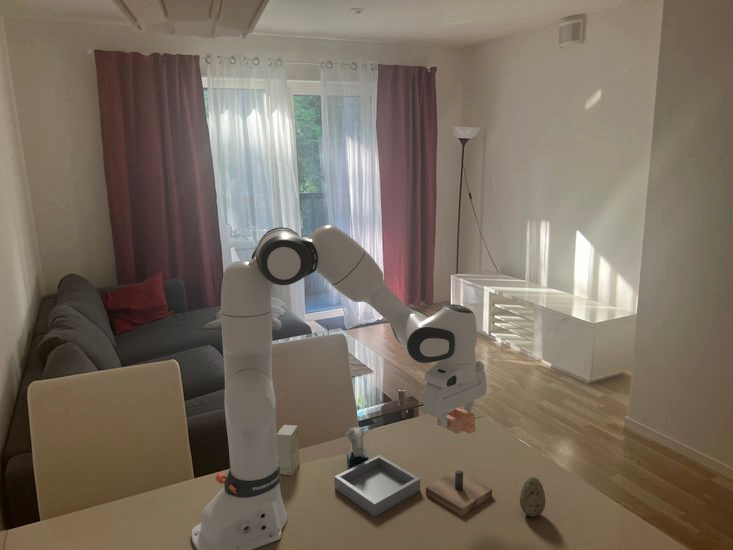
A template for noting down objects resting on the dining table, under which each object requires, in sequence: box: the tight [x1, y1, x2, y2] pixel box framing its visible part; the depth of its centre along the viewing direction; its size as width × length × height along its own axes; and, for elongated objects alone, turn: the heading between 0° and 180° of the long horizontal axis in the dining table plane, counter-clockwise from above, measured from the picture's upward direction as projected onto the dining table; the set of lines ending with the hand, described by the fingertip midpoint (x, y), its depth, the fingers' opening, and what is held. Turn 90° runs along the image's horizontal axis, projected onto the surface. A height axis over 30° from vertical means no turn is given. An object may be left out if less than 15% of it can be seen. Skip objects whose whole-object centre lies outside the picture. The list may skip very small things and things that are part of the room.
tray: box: [334, 454, 421, 518], centre depth 142 cm, size 16×16×4 cm
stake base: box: [425, 469, 493, 517], centre depth 139 cm, size 12×12×6 cm
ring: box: [436, 407, 476, 435], centre depth 135 cm, size 7×9×3 cm
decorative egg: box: [519, 476, 546, 518], centre depth 131 cm, size 6×6×10 cm
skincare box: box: [276, 424, 301, 476], centre depth 152 cm, size 6×4×12 cm
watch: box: [345, 426, 369, 470], centre depth 154 cm, size 6×8×11 cm
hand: (455, 421), depth 136 cm, fingers closed on ring, 7 cm apart
